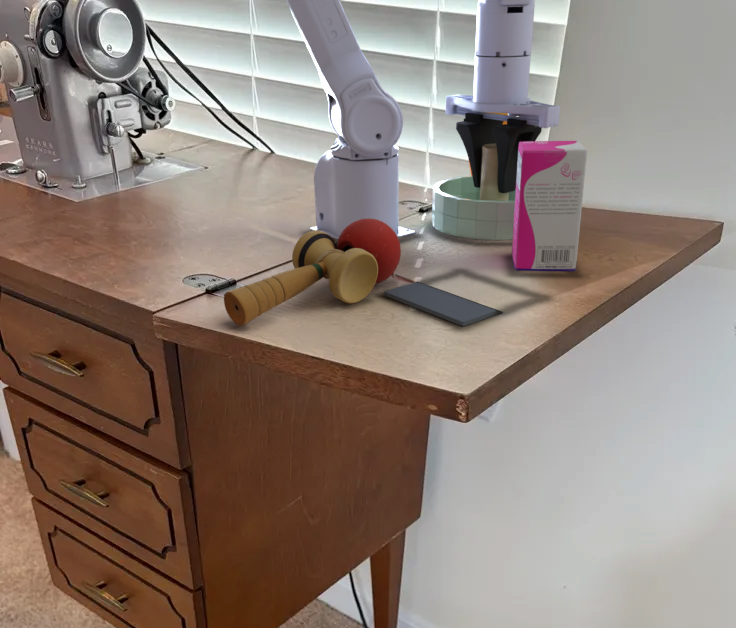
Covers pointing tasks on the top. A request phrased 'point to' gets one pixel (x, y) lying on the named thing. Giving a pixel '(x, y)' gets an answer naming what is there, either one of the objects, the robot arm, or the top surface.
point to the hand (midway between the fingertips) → (494, 188)
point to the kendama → (324, 269)
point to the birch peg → (490, 175)
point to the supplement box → (548, 205)
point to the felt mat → (441, 303)
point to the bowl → (471, 211)
